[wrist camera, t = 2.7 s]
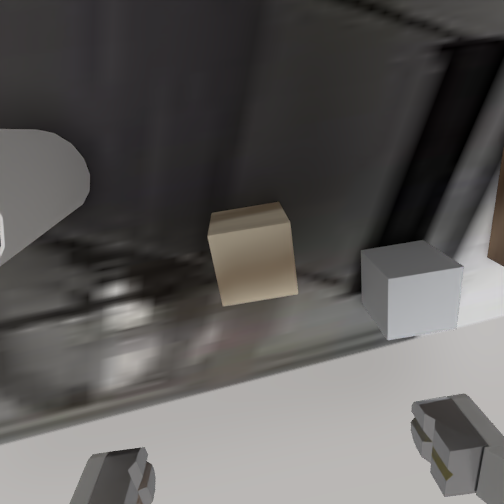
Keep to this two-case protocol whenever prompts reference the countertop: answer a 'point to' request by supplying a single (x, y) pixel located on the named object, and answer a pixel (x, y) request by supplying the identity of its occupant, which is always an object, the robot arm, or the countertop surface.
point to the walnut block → (498, 223)
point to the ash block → (252, 253)
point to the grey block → (411, 289)
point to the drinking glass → (36, 185)
